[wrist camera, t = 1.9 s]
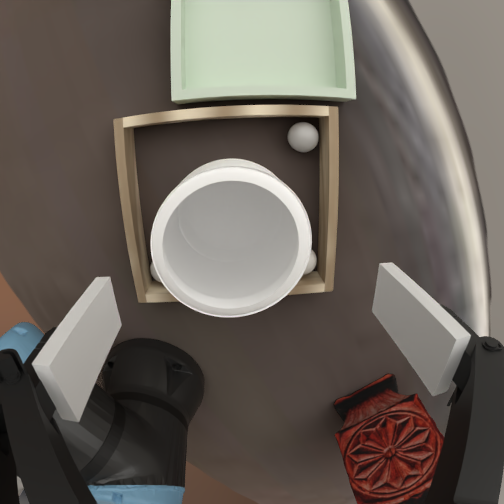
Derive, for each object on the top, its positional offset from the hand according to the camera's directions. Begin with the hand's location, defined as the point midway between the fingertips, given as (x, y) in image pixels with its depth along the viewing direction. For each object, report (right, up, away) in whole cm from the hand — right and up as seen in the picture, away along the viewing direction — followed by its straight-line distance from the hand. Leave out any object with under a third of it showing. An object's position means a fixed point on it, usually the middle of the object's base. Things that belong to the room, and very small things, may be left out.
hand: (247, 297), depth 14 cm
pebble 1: (+5, +14, +17) cm, 23 cm away
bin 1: (+1, +27, +12) cm, 29 cm away
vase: (+21, -25, +33) cm, 47 cm away
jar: (-2, +8, +19) cm, 21 cm away
